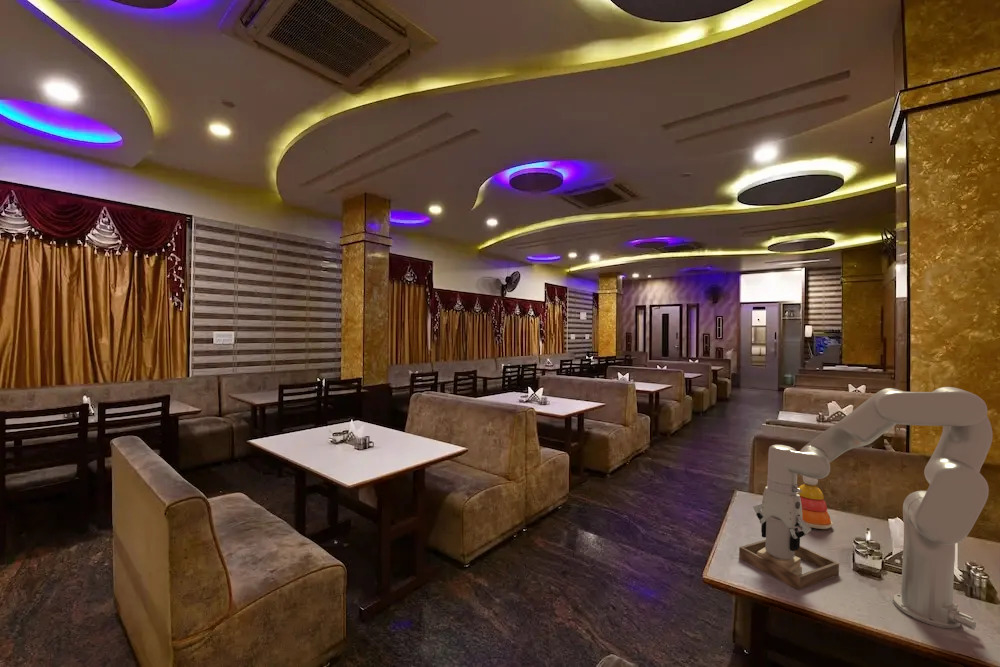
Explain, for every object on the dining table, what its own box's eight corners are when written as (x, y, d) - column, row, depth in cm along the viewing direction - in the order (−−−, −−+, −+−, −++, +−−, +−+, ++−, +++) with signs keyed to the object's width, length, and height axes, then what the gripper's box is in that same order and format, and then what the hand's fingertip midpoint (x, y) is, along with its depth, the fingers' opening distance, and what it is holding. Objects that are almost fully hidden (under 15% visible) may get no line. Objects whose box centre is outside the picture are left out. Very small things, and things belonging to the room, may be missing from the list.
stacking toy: (837, 535, 153) (839, 482, 153) (790, 526, 160) (792, 475, 159) (827, 519, 166) (829, 470, 166) (784, 512, 172) (785, 464, 172)
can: (781, 563, 125) (782, 523, 125) (759, 550, 132) (760, 512, 132) (800, 560, 127) (802, 520, 127) (778, 547, 134) (779, 510, 134)
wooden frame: (838, 574, 128) (839, 563, 128) (798, 590, 119) (798, 577, 119) (778, 546, 144) (778, 535, 144) (739, 557, 136) (739, 546, 136)
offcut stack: (804, 574, 127) (805, 560, 127) (786, 581, 123) (786, 566, 123) (771, 557, 136) (771, 544, 136) (752, 563, 133) (753, 549, 133)
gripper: (820, 495, 123) (818, 554, 123) (761, 475, 139) (760, 528, 139) (804, 499, 120) (802, 560, 120) (746, 478, 136) (744, 532, 136)
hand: (779, 542), depth 130 cm, fingers open, 8 cm apart
